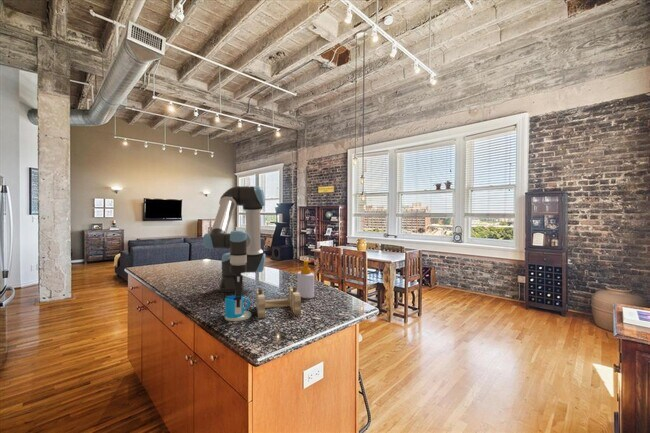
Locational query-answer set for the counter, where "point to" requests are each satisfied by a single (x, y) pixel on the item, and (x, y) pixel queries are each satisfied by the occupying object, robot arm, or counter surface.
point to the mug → (233, 306)
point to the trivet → (245, 316)
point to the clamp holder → (278, 302)
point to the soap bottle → (305, 282)
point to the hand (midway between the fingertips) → (238, 309)
